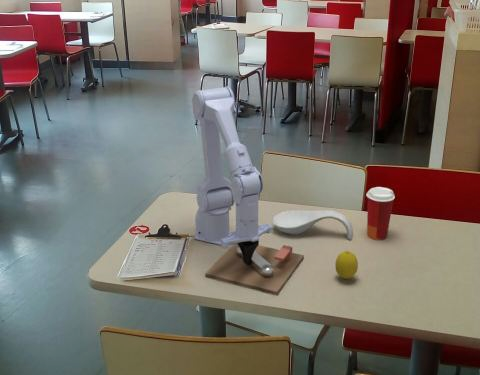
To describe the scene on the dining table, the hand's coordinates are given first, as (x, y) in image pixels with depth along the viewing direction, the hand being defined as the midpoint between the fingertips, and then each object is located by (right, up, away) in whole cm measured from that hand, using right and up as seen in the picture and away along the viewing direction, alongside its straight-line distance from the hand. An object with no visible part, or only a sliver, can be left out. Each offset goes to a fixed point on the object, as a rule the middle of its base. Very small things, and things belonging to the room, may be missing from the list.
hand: (247, 263), depth 143 cm
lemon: (+25, -3, -5) cm, 26 cm away
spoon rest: (+19, +6, +19) cm, 28 cm away
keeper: (+10, 0, +1) cm, 10 cm away
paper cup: (+38, +6, +16) cm, 42 cm away
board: (+2, -1, +1) cm, 3 cm away
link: (+2, 0, +1) cm, 2 cm away
